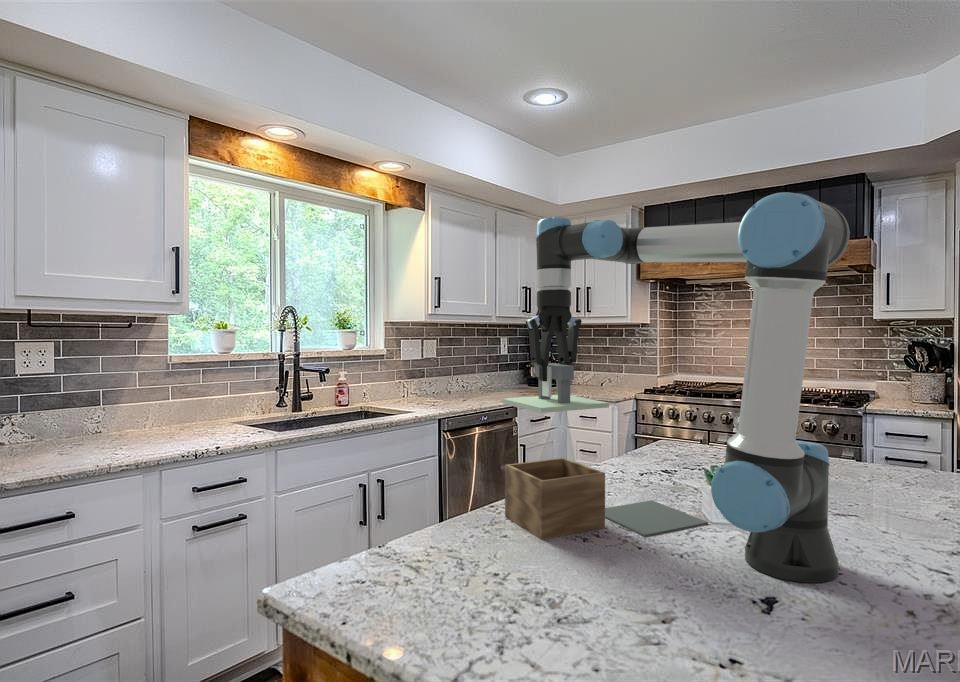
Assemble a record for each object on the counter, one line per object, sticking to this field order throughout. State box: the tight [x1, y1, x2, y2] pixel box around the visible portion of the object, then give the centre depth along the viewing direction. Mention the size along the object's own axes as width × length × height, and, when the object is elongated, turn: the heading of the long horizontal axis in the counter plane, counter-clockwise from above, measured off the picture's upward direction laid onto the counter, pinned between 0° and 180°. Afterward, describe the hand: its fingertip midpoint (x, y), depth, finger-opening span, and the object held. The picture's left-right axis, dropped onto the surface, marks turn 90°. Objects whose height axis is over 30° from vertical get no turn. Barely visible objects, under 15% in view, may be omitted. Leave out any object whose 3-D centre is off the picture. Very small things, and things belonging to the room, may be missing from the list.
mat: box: [605, 500, 709, 538], centre depth 135 cm, size 18×18×1 cm
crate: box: [504, 457, 606, 540], centre depth 132 cm, size 16×16×12 cm
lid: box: [501, 362, 610, 414], centre depth 132 cm, size 17×17×9 cm
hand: (554, 395), depth 132 cm, fingers closed on lid, 3 cm apart
